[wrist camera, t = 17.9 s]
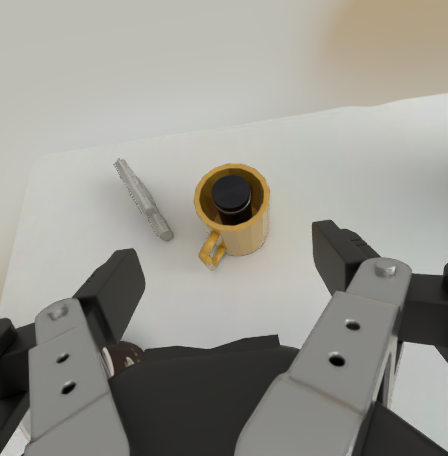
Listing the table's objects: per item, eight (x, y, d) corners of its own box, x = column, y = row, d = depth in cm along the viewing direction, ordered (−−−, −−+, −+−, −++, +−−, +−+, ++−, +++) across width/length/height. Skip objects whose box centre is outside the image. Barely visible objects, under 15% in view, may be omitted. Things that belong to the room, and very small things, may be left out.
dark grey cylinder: (248, 209, 37) (243, 169, 28) (257, 235, 35) (255, 201, 26) (220, 218, 37) (206, 181, 28) (228, 244, 35) (217, 213, 26)
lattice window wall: (176, 237, 37) (161, 219, 32) (164, 244, 37) (147, 228, 31) (139, 176, 42) (120, 152, 36) (129, 183, 42) (109, 159, 36)
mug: (227, 193, 39) (216, 154, 30) (278, 215, 36) (282, 178, 28) (187, 260, 36) (164, 237, 27) (240, 288, 33) (232, 272, 25)
